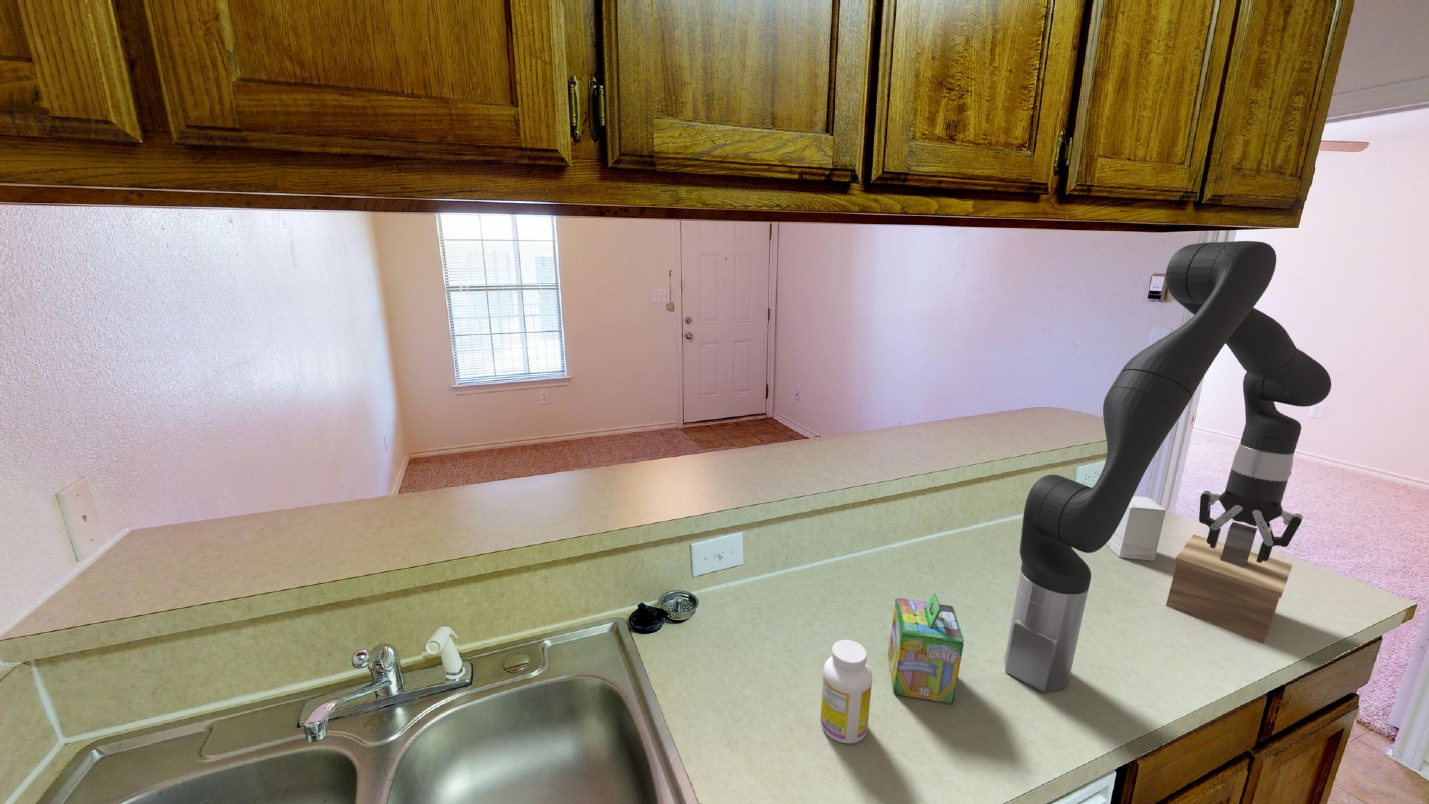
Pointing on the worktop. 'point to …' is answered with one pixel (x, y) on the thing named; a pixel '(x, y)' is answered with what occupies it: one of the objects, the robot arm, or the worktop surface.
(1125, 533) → the supplement box
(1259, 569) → the lid
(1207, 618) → the box
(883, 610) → the worktop surface
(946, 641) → the chalk box
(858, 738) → the supplement bottle
